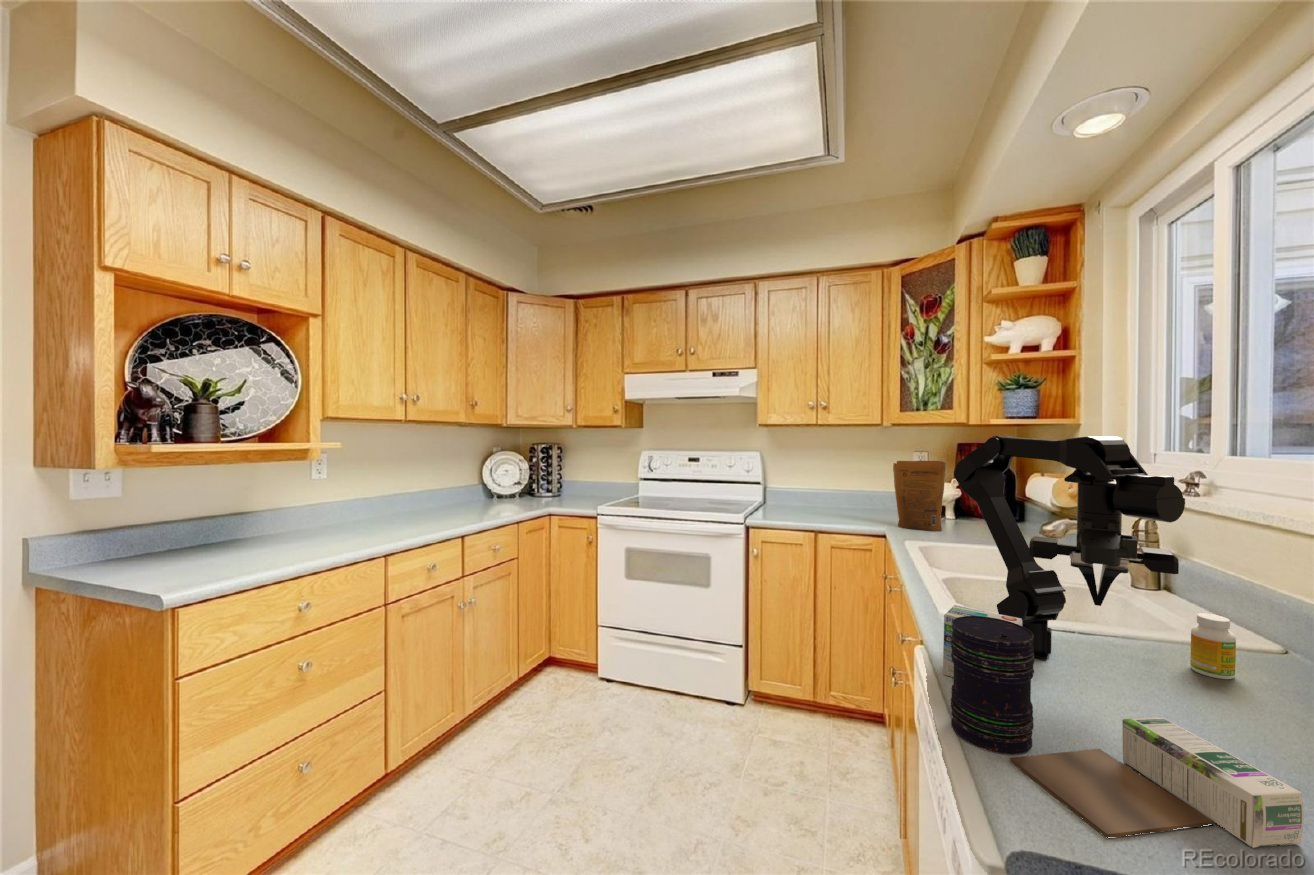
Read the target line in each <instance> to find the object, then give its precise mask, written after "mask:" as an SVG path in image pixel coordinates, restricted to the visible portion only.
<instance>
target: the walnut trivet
mask: <svg viewBox="0 0 1314 875" xmlns="http://www.w3.org/2000/svg"><path fill="white" fill-rule="evenodd" d="M1009 762H1010V763H1011V764H1013V765H1014V766H1016V768H1017V769H1019V770H1020V771H1022V772H1023V773H1024V772H1025V773H1024V774H1025V775H1027V777H1029V778H1030V779H1031V780H1033V781H1034V782H1035V783H1037V784H1038V785H1039V786H1040V787H1042V788H1043V789H1044V790H1045V791H1047V792H1048V793H1049V794H1050V795H1052V796H1053V797H1054V798H1055V799H1056V800H1058V801H1059V802H1060V803H1061V804H1063V805H1064V806H1065V807H1067V808H1068V810H1070V809H1071V810H1070V811H1071V812H1073V813H1075V815H1077V816H1078V817H1079V818H1080V819H1082V818H1083V819H1082V820H1083V821H1084V822H1085V821H1086V822H1085V823H1087V824H1088V823H1089V824H1088V825H1089V826H1090V825H1091V826H1090V827H1092V828H1093V827H1094V828H1095V829H1096V830H1095V831H1096V832H1097V833H1099V832H1100V833H1102V834H1103V835H1104V836H1105V837H1107V838H1108V837H1119V838H1121V837H1120V836H1126V835H1127V837H1129V836H1128V835H1135V834H1140V833H1141V834H1142V833H1150V832H1159V833H1162V832H1161V831H1168V832H1170V831H1169V830H1173V829H1177V828H1183V827H1200V828H1202V827H1201V826H1203V825H1208V824H1213V825H1214V824H1215V822H1214V821H1212V820H1211V819H1209V818H1208V817H1206V816H1204V815H1203V814H1201V813H1200V812H1198V811H1197V810H1195V809H1194V808H1192V807H1191V806H1189V805H1188V804H1186V803H1185V802H1183V801H1182V800H1180V799H1179V798H1177V797H1176V796H1174V795H1173V794H1171V793H1170V792H1168V791H1167V790H1165V789H1164V788H1162V787H1161V786H1159V785H1158V784H1156V783H1155V782H1153V781H1152V780H1150V779H1149V778H1147V777H1146V776H1144V775H1142V774H1141V773H1138V771H1136V770H1135V769H1133V768H1131V767H1130V766H1127V764H1124V763H1123V762H1121V761H1119V760H1118V759H1116V758H1114V757H1113V756H1112V755H1110V754H1108V753H1107V752H1105V751H1103V750H1102V749H1101V748H1094V749H1083V750H1082V749H1081V750H1074V751H1072V750H1071V751H1063V752H1055V753H1053V752H1052V753H1043V754H1033V755H1024V756H1014V757H1012V756H1011V757H1010V758H1009ZM1094 828H1093V829H1094ZM1100 833H1099V834H1100ZM1102 834H1101V835H1102ZM1103 835H1102V836H1103ZM1104 836H1103V837H1104ZM1135 836H1136V835H1135ZM1105 837H1104V838H1105ZM1107 838H1106V839H1107Z"/></svg>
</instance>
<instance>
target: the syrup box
mask: <svg viewBox="0 0 1314 875" xmlns="http://www.w3.org/2000/svg"><path fill="white" fill-rule="evenodd" d="M1122 761H1123V762H1124V763H1125V765H1128V767H1130V768H1131V769H1133V770H1134V771H1136V772H1137V773H1138V772H1139V774H1140V775H1142V776H1143V777H1145V778H1146V779H1148V780H1149V781H1151V782H1153V783H1154V784H1156V785H1157V786H1159V787H1160V788H1162V789H1164V790H1165V791H1167V792H1168V793H1170V794H1171V795H1173V796H1175V797H1176V798H1178V799H1179V800H1181V801H1182V802H1184V803H1186V804H1187V805H1189V806H1190V807H1192V808H1193V809H1195V810H1197V811H1198V812H1200V813H1201V814H1203V815H1204V816H1206V817H1208V818H1209V819H1211V820H1212V821H1214V824H1216V823H1217V826H1219V825H1220V826H1219V827H1221V828H1222V827H1223V829H1224V828H1225V829H1224V830H1225V831H1226V832H1228V833H1230V834H1232V835H1233V836H1235V837H1236V838H1238V839H1239V840H1240V841H1241V842H1243V843H1245V844H1246V845H1248V846H1249V847H1250V848H1253V849H1255V848H1259V847H1278V846H1277V845H1280V846H1281V844H1282V846H1292V845H1294V846H1295V845H1301V843H1302V838H1303V834H1304V833H1303V832H1304V825H1305V822H1304V821H1305V810H1304V807H1305V806H1304V799H1303V793H1302V792H1301V791H1299V790H1297V789H1295V788H1294V787H1292V786H1290V785H1288V784H1287V783H1284V782H1283V781H1281V780H1279V779H1277V778H1276V777H1273V776H1272V775H1270V774H1268V773H1266V772H1265V771H1262V770H1261V769H1258V768H1257V767H1255V766H1253V765H1251V764H1250V763H1247V762H1245V761H1244V760H1242V759H1240V758H1238V757H1237V756H1235V755H1232V754H1231V753H1229V752H1227V751H1226V750H1224V749H1222V748H1221V747H1218V746H1216V745H1214V744H1212V743H1211V742H1209V741H1207V740H1206V739H1203V738H1201V737H1200V736H1198V735H1196V734H1194V733H1192V732H1190V731H1189V730H1186V729H1185V728H1183V727H1181V726H1179V725H1177V724H1176V723H1174V722H1171V721H1170V720H1168V719H1167V718H1165V717H1162V716H1157V717H1137V718H1136V717H1134V718H1123V719H1122Z"/></svg>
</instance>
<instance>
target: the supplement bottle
mask: <svg viewBox="0 0 1314 875" xmlns="http://www.w3.org/2000/svg"><path fill="white" fill-rule="evenodd" d="M1196 623H1197V624H1196V625H1194V626H1192V627H1191V630H1190V657H1189V658H1190V659H1189V661H1190V662H1189V663H1190V666H1189V667H1190V668H1191V670H1193V672H1196V673H1198V674H1200V675H1203V676H1206V677H1210V678H1214V679H1220V680H1232V679H1234V678H1235V677H1236V657H1237V654H1236V653H1237V651H1236V649H1237V638H1236V635H1235V634H1234V633H1233V632H1231V631H1230V629H1231V620H1230V619H1229V618H1227V617H1225V616H1221V615H1218V614H1214V613H1213V614H1211V613H1205V612H1204V613H1203V612H1202V613H1200V612H1199V613H1197V614H1196Z"/></svg>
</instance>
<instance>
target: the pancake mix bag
mask: <svg viewBox="0 0 1314 875" xmlns="http://www.w3.org/2000/svg"><path fill="white" fill-rule="evenodd" d="M946 469H947V462H945V461H943V460H942V461H941V460H897V461H896V463H895V462H894V463H893V466H892V471H893V484H894V485H893V486H894V494H895V500H896V510H897V516H898V524H897V527H899V528H901V529H906V530H919V531H927V532H942V531H943V526H942V519H941V518H942V511H943V498H944V497H943V496H944V492H945V479H946V474H947V470H946Z"/></svg>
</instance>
